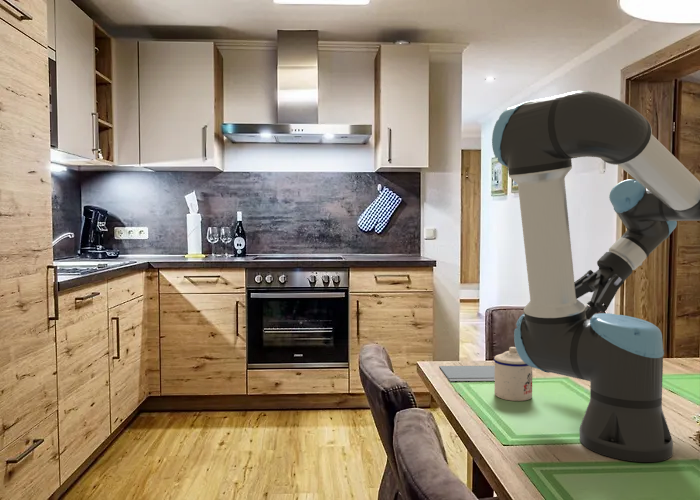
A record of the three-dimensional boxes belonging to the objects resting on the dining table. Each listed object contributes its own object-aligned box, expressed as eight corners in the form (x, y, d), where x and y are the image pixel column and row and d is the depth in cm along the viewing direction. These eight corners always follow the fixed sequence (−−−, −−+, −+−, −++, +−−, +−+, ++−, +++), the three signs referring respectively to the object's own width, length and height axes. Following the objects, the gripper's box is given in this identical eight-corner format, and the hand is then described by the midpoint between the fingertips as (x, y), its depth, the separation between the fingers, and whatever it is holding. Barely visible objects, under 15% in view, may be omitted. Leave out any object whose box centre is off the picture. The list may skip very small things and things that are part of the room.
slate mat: (523, 378, 144) (523, 377, 144) (448, 379, 144) (448, 377, 144) (507, 366, 157) (507, 365, 157) (439, 367, 157) (439, 366, 157)
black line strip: (530, 381, 141) (530, 380, 141) (450, 382, 141) (450, 380, 141) (527, 379, 143) (527, 378, 143) (448, 379, 143) (448, 378, 143)
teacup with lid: (532, 403, 123) (533, 352, 123) (491, 399, 126) (492, 350, 126) (533, 389, 134) (534, 342, 134) (496, 385, 138) (496, 340, 137)
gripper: (662, 276, 118) (594, 345, 118) (605, 267, 143) (549, 325, 143) (638, 252, 118) (570, 322, 118) (585, 248, 142) (529, 305, 143)
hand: (558, 324), depth 130 cm, fingers open, 13 cm apart
